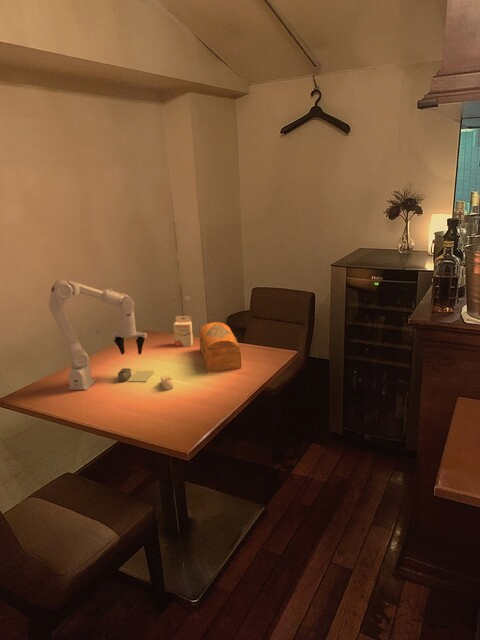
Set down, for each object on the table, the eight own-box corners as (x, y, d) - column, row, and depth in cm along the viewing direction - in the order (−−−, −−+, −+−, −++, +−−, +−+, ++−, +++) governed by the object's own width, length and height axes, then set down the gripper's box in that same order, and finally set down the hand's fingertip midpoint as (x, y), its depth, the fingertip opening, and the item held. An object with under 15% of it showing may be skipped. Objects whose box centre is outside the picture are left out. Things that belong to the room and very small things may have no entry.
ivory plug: (173, 389, 186) (173, 380, 185) (165, 390, 185) (164, 382, 184) (168, 380, 195) (167, 373, 194) (160, 382, 193) (159, 374, 192)
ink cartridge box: (174, 346, 236) (172, 318, 232) (177, 343, 241) (174, 315, 237) (191, 346, 235) (189, 318, 231) (193, 343, 240) (191, 315, 236)
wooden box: (244, 368, 204) (242, 338, 200) (206, 373, 201) (204, 342, 198) (233, 346, 232) (231, 319, 229) (200, 350, 230) (198, 323, 226)
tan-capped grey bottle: (125, 382, 195) (124, 374, 194) (117, 382, 196) (116, 374, 195) (133, 373, 204) (132, 366, 203) (125, 373, 204) (124, 366, 203)
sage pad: (146, 382, 194) (146, 381, 194) (127, 381, 196) (127, 380, 196) (154, 371, 205) (154, 370, 205) (137, 371, 206) (137, 370, 206)
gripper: (147, 320, 200) (150, 350, 204) (115, 320, 202) (119, 350, 206) (142, 325, 193) (145, 356, 197) (108, 325, 196) (112, 356, 199)
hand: (131, 353), depth 201 cm, fingers open, 7 cm apart
